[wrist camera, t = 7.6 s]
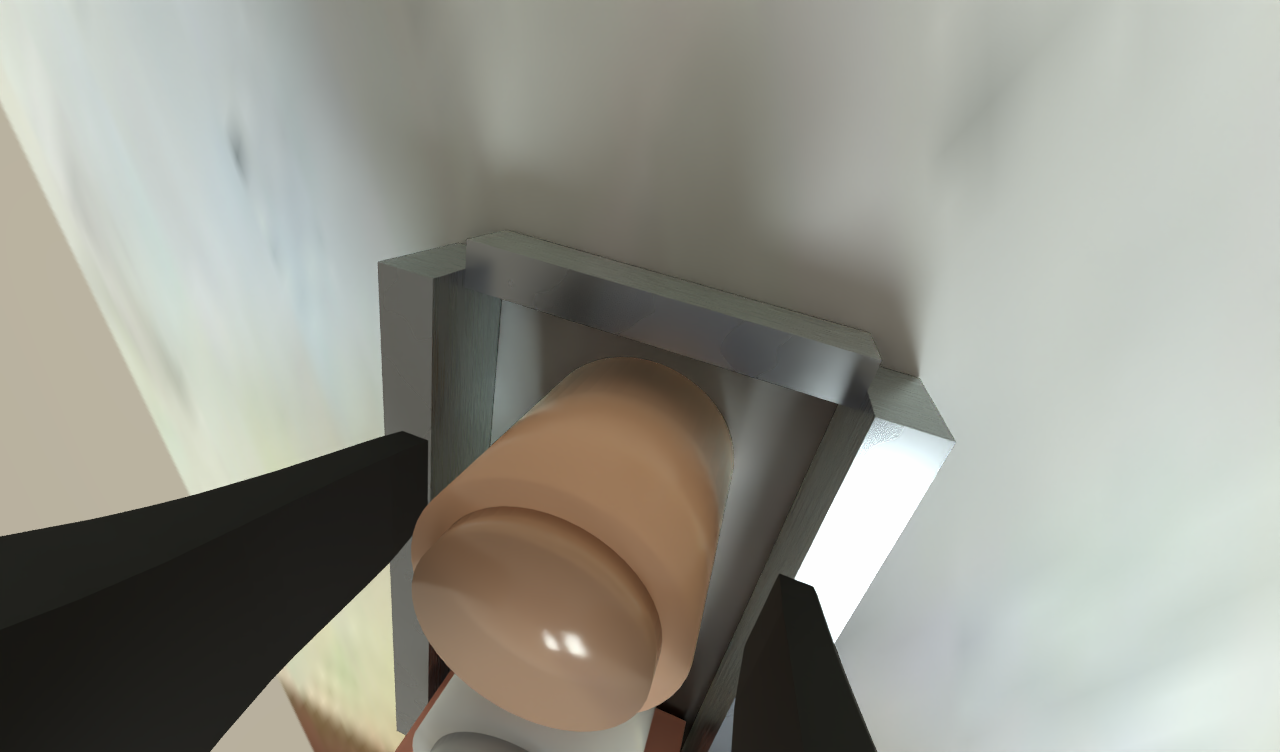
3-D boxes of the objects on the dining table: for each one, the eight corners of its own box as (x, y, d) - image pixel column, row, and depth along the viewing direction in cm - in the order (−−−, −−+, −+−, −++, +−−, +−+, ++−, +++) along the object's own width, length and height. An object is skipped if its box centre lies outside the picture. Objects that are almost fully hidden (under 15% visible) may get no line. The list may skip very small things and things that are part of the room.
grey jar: (654, 690, 16) (588, 932, 11) (515, 629, 16) (395, 828, 12) (693, 584, 13) (633, 829, 8) (530, 520, 14) (389, 708, 9)
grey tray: (705, 785, 17) (691, 879, 15) (444, 663, 19) (396, 730, 16) (934, 350, 9) (975, 409, 7) (459, 216, 11) (376, 229, 9)
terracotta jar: (712, 552, 13) (658, 793, 8) (540, 498, 14) (399, 682, 9) (755, 385, 11) (719, 574, 6) (548, 336, 12) (368, 461, 7)
